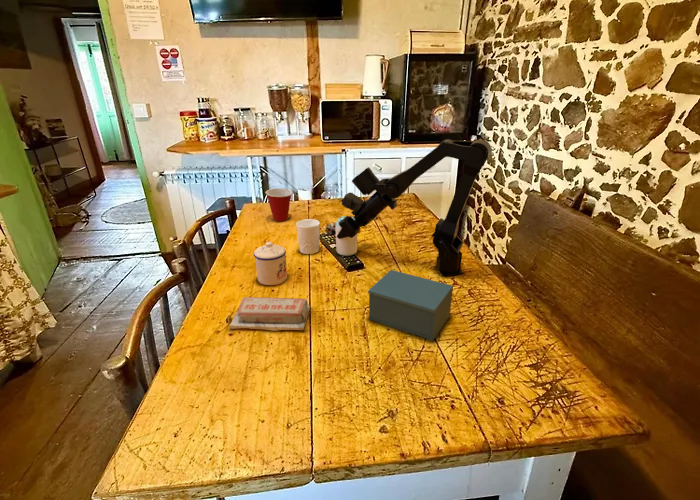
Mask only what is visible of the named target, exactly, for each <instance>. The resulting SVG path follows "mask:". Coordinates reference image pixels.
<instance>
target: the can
mask: <svg viewBox="0 0 700 500" xmlns="http://www.w3.org/2000/svg"><path fill="white" fill-rule="evenodd" d="M346 216H347V215H346ZM346 216H339V217H337V219H336V222H335V223H336V232H335V252H336V254H338V255H340V256H342V257H350V256H353V255H355V254H357V252H358V233H357V234H356V235H355V236H354V237H353V238H350V237H346V238H341V239H338V238H337V235H338V234H339V232H340V230H341V229H342V228H341V226H340V225H339V222H340V221H341V220H342V219H344V218H345V217H346ZM351 217H352V218H353V220H354V221H355V219H354V216H351Z"/></svg>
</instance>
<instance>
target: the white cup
mask: <svg viewBox="0 0 700 500" xmlns="http://www.w3.org/2000/svg"><path fill="white" fill-rule="evenodd" d="M295 226H296V227H295V228H296V235H297V242H298V248H299V249H298V250H299V252H300V253H301V254H304V255H313V254H314V255H315V254H317V253H319V251H320V241H321V240H320V239H321V222H320V221H319V220H318V219H314V218H305V219H301V220H300V219H299V220H298V221H296V223H295Z"/></svg>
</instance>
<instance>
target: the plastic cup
mask: <svg viewBox="0 0 700 500" xmlns="http://www.w3.org/2000/svg"><path fill="white" fill-rule="evenodd" d="M265 195H266V197H267V201H268V203H269V207H270V211H271V214H272V218H273V220H274V221H275V222H286V221H288V220H289V212H290V203H291V197H292V195H293V191H292V190H291V189H287V188H270V189H267V190H266V191H265Z"/></svg>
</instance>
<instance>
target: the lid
mask: <svg viewBox="0 0 700 500" xmlns="http://www.w3.org/2000/svg"><path fill="white" fill-rule="evenodd" d="M452 289H453V290H454V285H451V284H448V283H445V282H444V283H443V282H439V281H437V280H432V279H428V278H424V277H420V276H417V275H413V274H409V273H405V272H401V271H398V270H393V269H390V270H389V271H388V272H386V273H385V275H384V276H382V277H381V278H380V279H378V281H377V282H376V283H375V284H373V286H371V287H370V288H369V289H368V290H367V293H368V295H369V294H373V295H376V296H379V297H383V298H386V299H389V300H393V301H396V302H399V303H403V304H406V305H409V306H413V307H416V308H419V309H423V310H426V311H429V312H433V313H435V312H436V310H437V309H438V308H439V306H440V305H441V304H442V302H443V301H444V300H445V298H446V297H447V296H448V294H449V293H450V291H451V290H452Z"/></svg>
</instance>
